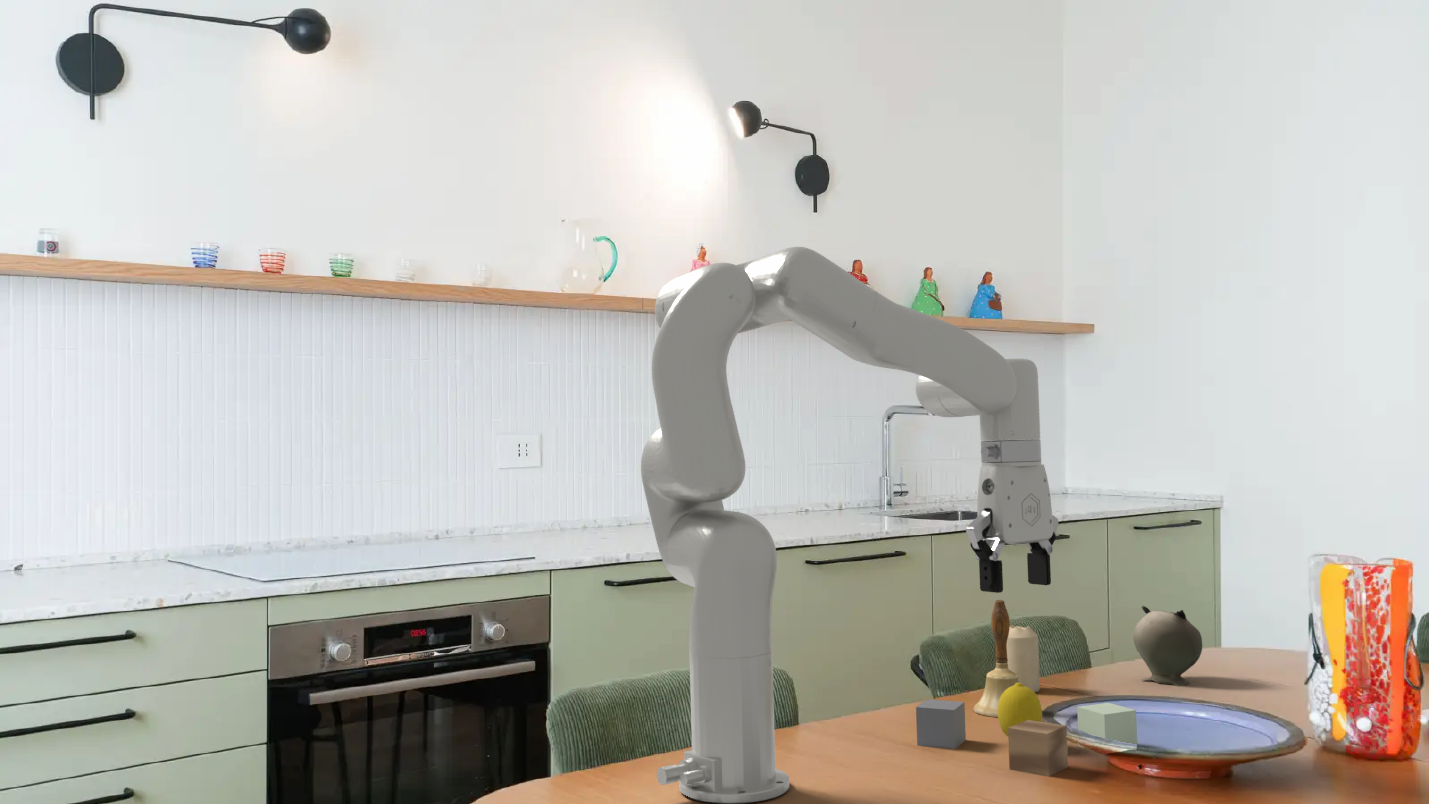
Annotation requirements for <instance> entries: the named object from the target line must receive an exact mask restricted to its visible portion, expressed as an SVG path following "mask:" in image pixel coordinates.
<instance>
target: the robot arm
mask: <svg viewBox="0 0 1429 804" xmlns="http://www.w3.org/2000/svg"><path fill="white" fill-rule="evenodd" d="M654 317H655V320H656V322H657V325H658V327H659V331H658V333H657V337H656V339H655V343H654V346H653V351H652V359H651V380H652V387H653V393H654V398H655V405H656V411H657V416H658V420H659V424H660V427H659V428H658V429H656V430H655V431H654V432H653V433H652V434H651V435H650V437H649V438H648V439H647V441H646V443H645V444H644V447H643V449H642V455H641V458H640V459H641V460H640V473H641V474H640V475H641V479H642V480H641V481H642V486H643V491H644V494H645V495H644V496H645V500H646V503H647V508H648V512H649V516H650V521H651V525H652V528H653V533H654V537H655V542H656V545H657V548H658V551H659V555H660V557H661V560H662V562H663V564H664V567H665V568H666V570H667V571H668V573H669V574H670V575H671V576H672V577H673V579H676V580H677V581H678V582H680V583H682V584H683V585H686V586H689V587H691V588H694V589H693V592H694V593H693V596H692V603H691V607H690V614H689V624H688V650H689V651H688V653H689V676H690V677H689V682H690V683H689V684H690V685H689V687H690V721H691V723H690V724H691V725H690V726H691V749H690V750H686V751H683V754H684V755H683V756H684V757H683V758H684V759H682V760H680V761H679V763H678V764H670V765H666V766H661V767H659V768H657V771H656V778H657V782H658V783H659V785H661V786H664V785H671V784H674V783H677V782H679V783H678V784H679V786H678V789H679V791H680V793H682V795H684V796H685V795H686V797H687V796H688V798H689V797H690V799H692V800H696V801H700V802H706V803H712V804H714V803H715V804H747V803H757V802H761V801H762V802H763V801H767V800H770V799H771V800H772V799H774V798H777V797H779V796H781V795H784V793H786V792H787V791H788V790H789V788H790V776H789V775H788V774H787V773H786V772H785V771H784V770H780V769H779V768H777V767H776V743H775V742H776V740H775V739H776V738H775V709H774V708H775V707H774V706H775V705H774V697H775V696H774V672H773V671H774V669H773V665H774V664H773V662H774V661H773V659H774V658H773V640H772V639H773V638H772V635H773V632H772V631H773V630H772V623H773V622H772V619H773V618H772V614H773V613H772V612H773V610H772V609H773V600H774V599H773V598H774V592H775V591H774V590H775V583H776V576H777V566H778V559H777V558H778V555H777V549H776V545H775V542H774V539H773V537H772V535H771V533H770V532H769V530H768V529H767V528H766V526H765V525H764V523H762V522H760V521H759V520H758V519H757V518H754V517H753V516H751V515H749V514H747V513H743V512H740V511H739V512H738V511H734V510H725V507H724V502H723V500H726V499H728V498H730V497H731V496H732V495H734V494H735V493H737V492H738V490H739V489H740V488H741V486H742V485H743V482H744V480H745V476H746V461H745V454H744V449H743V445H742V442H741V437H740V434H739V429H738V425H737V421H736V417H735V412H734V408H733V405H732V400H731V396H730V390H729V389H730V388H729V384H728V377H727V376H728V375H727V363H728V356H729V353H730V350H731V346H732V344H733V342H734V341H735V338H736V336H737V335H738V334H741V333H745V332H749V331H752V330H753V331H754V330H756V329H759V328H763V327H766V326H770V325H774V324H777V323H781V322H785V321H791V322H793V323H795V324H797V325H798V326H800V327H802V328H803V329H805V330H806V331H807V332H810V334H811V333H812V334H813V335H815V336H816V337H818V338H819V339H821V341H824V342H826V343H827V344H829V345H830V346H832V347H833V348H835V349H837V350H838V351H839V352H841V353H843V354H844V355H846V356H847V357H849V358H851V360H854V361H856V362H860V363H862V364H866V365H868V366H869V365H870V366H873V367H878V368H883V369H884V368H885V369H889V370H898V371H902V372H907V373H910V374H915V375H918V377H917V380H916V382H915V394H916V398H917V400H918V401H919V404H920V405H921V406H922V407H923V409H924V410H926V411H927V412H928V413H931V414H933V415H934V416H938V417H941V418H964V417H972V416H973V417H976V416H979V429H980V430H979V431H980V432H979V433H980V437H979V438H980V455H981V457H980V458H981V459H980V460H981V466H980V470H979V477H978V488H977V512H976V513H977V516H976V517H975V518H974V519H973V520H972V521H971V522H970V523H969V524H967V526H966V528H965V532H966V534H967V535H966V536H967V537H968V540H969V542H970V548H971V549H972V551H973V553H975V554H974V555H975V559H976V560H978V566H979V567H978V568H979V569H978V570H979V589H980V591H981V592H985V593H986V592H987V593H997V594H999V593H1002V592H1003V590H1004V579H1003V578H1004V576H1003V561H1002V560H1000V559H999V558H1000V556H1001V554H1002V551H1003V549H1004V547H1005V545H1006V544H1007V545H1014V546H1015V545H1023V544H1024V545H1026V546H1027V548H1028V550H1029V551H1030V552H1028V553H1027V555H1026V558H1027V559H1026V560H1027V562H1026V563H1027V564H1026V565H1027V582H1028V584H1030V585H1038V586H1039V585H1041V586H1049V585H1051V583H1052V578H1051V577H1052V576H1051V573H1052V572H1051V554H1052V553H1053V551H1054V547H1053V544H1054V543H1055V541H1056V537H1057V535H1056V534H1057V530H1058V526H1059V519H1058V518H1057V517H1056V516H1055V515H1053V510H1052V509H1053V508H1052V501H1051V499H1052V498H1051V491H1050V485H1049V479H1048V475H1047V470H1046V468H1045V467H1046V466H1045V464H1042V449H1041V448H1042V444H1041V443H1042V442H1041V424H1040V423H1041V421H1040V419H1041V417H1040V416H1041V415H1040V396H1039V374H1038V367H1037V366H1036V363H1035V362H1034V361H1032V360H1031V359H1028V358H1027V359H1026V358H1005V357H1004V356H1003V355H1002V354H1001V353H1000V352H998V351H997V350H996V349H995V348H993V347H991V346H990V345H988V344H987V343H985V342H984V341H982V340H981V339H979V338H978V337H976V336H975V335H974V334H972V333H970V332H968V331H967V330H964V329H962V328H961V327H959V326H956V325H954V324H952V323H950V322H947V321H945V320H942V319H939V318H936V317H934V316H931V315H929V314H926V313H923V312H921V311H918V310H916V309H913V308H911V307H907V306H904V305H902V304H899V303H897V302H894V301H892V300H891V299H889V298H887V297H886V296H884V295H882V294H881V293H879V292H878V291H876V289H874V288H871V287H870V286H868V285H867V284H866V283H865V282H863V281H861V280H859V279H858V278H857V277H855V276H854V275H853V274H851V273H849V272H848V271H846V270H845V269H843V268H842V267H840V266H839V265H837V264H836V263H835V262H833V261H831V260H830V259H828V258H827V257H825V256H824V255H822V254H821V253H819V252H817V251H815V250H813V249H811V248H808V247H805V246H792V247H787V248H784V249H781V250H778V251H775V252H772V253H770V254H767V255H764V256H762V257H759V258H756V259H752V260H750V261H746V262H743V263H742V262H741V263H739V264H734V263H730V262H717V263H716V262H715V263H712V264H706V265H704V266H701V267H698V268H696V269H694V270H692V271H690V272H687V273H685V274H682V275H679V276H677V277H675V278H673V279H671V280H670V281H668V282H667V283H666V284H664V286H663V287H662V288H661V290H660V291H659V292H658V294H657V297H656V299H655V304H654ZM991 546H992V548H991Z"/></svg>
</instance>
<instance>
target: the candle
mask: <svg viewBox="0 0 1429 804" xmlns="http://www.w3.org/2000/svg"><path fill="white" fill-rule="evenodd" d="M1039 656H1040V654H1039V635H1038V634H1037V633H1036V632H1035V631H1034V630H1033V629H1032V627H1030V626H1029V625H1028V626H1026V627H1025V626H1024V627H1023V626H1018V625H1013V624H1010V628H1009V635H1008V639H1007V659H1008V668H1009V670H1011V671H1012V672H1014V673H1016V674H1017V675H1018V681H1019V683H1022V684H1023V685H1024V686H1026V687H1028V688H1030V689H1031V690H1032V691H1034V692H1035V693H1038V692H1040V690H1041V688H1040V687H1041V684H1040V659H1039Z"/></svg>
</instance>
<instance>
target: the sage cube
mask: <svg viewBox="0 0 1429 804" xmlns="http://www.w3.org/2000/svg"><path fill="white" fill-rule="evenodd" d="M1076 708H1077V709H1076V711H1077V712H1076V713H1077V730H1078V729H1079V730H1082V731H1084V732H1086V733H1088V734H1090V735H1093V736H1098V737H1102V738H1106V739H1112V740H1117V741H1120V742H1126V743H1132V744H1137V745H1138V730H1137V729H1138V728H1137V726H1138V725H1137V710H1136V709H1133V708H1130V707H1126V706H1122V705H1118V704H1114V703H1112V702H1111V703H1110V702H1103V703H1096V704H1089V705H1088V704H1087V705H1081V706H1076ZM1078 746H1079V747H1080V748H1081V747H1082V746H1080V745H1079V744H1078ZM1082 748H1083V747H1082Z"/></svg>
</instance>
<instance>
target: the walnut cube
mask: <svg viewBox="0 0 1429 804" xmlns="http://www.w3.org/2000/svg"><path fill="white" fill-rule="evenodd" d="M1067 731H1068V729H1067V725H1066V724H1058V723H1052V722H1044V721H1042V722H1039V721H1032V720H1027V721H1024V722H1022V723H1019V724H1017V725H1014V726H1011V727H1009V728H1008V736H1007V738H1008V739H1007V740H1008V762H1009V763H1008V766H1009V768H1008V769H1009V771H1015V772H1021V773H1025V774H1032V775H1038V776H1044V777H1051V776H1052V775H1055V774H1057V773H1059V772H1061V771H1063V770H1065V769H1067V768H1069V760H1068V759H1069V758H1068V757H1069V756H1068V754H1069V753H1068V732H1067ZM1066 736H1067V738H1066Z"/></svg>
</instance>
